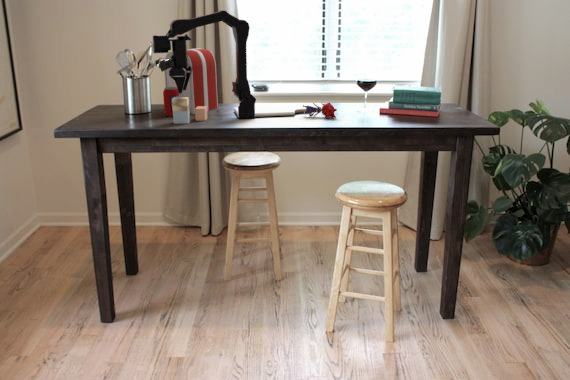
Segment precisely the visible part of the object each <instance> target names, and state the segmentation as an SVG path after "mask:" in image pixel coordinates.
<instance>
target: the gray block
mask: <svg viewBox="0 0 570 380" xmlns="http://www.w3.org/2000/svg"><path fill="white" fill-rule="evenodd" d="M172 119H173V124H189V123H190V122H191V114H190V111H189V110H188V111H173V117H172Z"/></svg>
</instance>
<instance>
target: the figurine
mask: <svg viewBox="0 0 570 380" xmlns="http://www.w3.org/2000/svg"><path fill="white" fill-rule="evenodd" d="M312 104H313V106H312V105H310V104H308V105H304V104H303V105H302V107H303V108H305V111H302V113H303V114H308V115H309V117H315V116H317V115H319V114H322V115H323V116H324V119H327V118H332V119H333V118H335V119H336V118H337V117H336V115H335V112H337V110H338V109H337V108H335V107H334V106H333V105H332V103H331V102H327V103H322V102H321V105H322V107H321V106H318V105H317V104H315V102H312Z"/></svg>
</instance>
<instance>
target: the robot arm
mask: <svg viewBox="0 0 570 380" xmlns="http://www.w3.org/2000/svg"><path fill="white" fill-rule="evenodd" d="M219 22H223V23H224V24H225V25H227V26H228V27H230V28H231V30H232V35H233V38H234V41H235V57H236V58H235V60H236V61H235V65H236V66H235V67H236V78H235V81H231V82H232V83H231V85H232V93H233V95H234V96H235V97H236V98H237V99H238V101H239V103H238V107H237V110H238V111H237V115H238V118H239V119H256V116H255V115H256V101H257V98H256V97H254V95H253V94H252V93H251V87H250V84H249V81H248V75H247V74H248V68H247V65H248V63H247V60H248V59H247V41H248V38H249V34H250V23H249V22H247V20H244V19H239V18H238V17H236V16H234V15H233V14H230V13H229V12H228V11H227V10H219V11H216V12H213V13H209V14H205V15H201V16H196V17H193V18H180V19H179V18H178V19H177V18H176V19H174V20H172V21H170V24H169V30H168V31H167V33H166V34H165V35H154V34H153V35H152V45H151V46H152V53H153V54H168V53H169V51H171V52H173V55H172V56H171V59H170V60H168V61H165V59H162V60H160V61H159V63H158V68H159V69H160V71H161V72H163V73H164V71H165V70H167V69H169V68H171V67H172V69H170V71H169V76H171V78H172V79H173V80H175V83H176V85H177V89H178V92H179V93H182V91H183V90H186V88H187V85H188V82H189V79H190V76H191V73H192V66H191V65H190V64H188V59H187V57H188V54H187V49H188V47H187V46H188V45H187V41H192V38H191V37H190V36H189V35H188V34H187V33H188V32H190V31H192V30H194V29H196V28H199V27H204V26H207V25H212V24H215V23H216V24H217V23H219ZM175 37H176V38H175ZM188 71H190V72H188Z"/></svg>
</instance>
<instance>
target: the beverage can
mask: <svg viewBox="0 0 570 380" xmlns="http://www.w3.org/2000/svg"><path fill="white" fill-rule="evenodd" d="M162 93H163V94H162V97H163V111H164V115H165V116H167V117H169V118H173V109H172V98H174V97H179V92H178V89H177V87H167V88H166V87H164V89H163V92H162Z"/></svg>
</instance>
